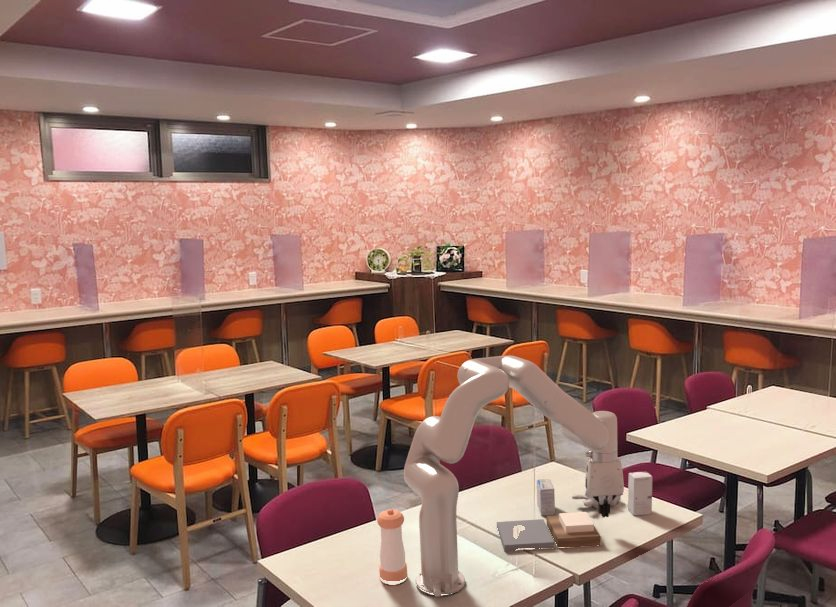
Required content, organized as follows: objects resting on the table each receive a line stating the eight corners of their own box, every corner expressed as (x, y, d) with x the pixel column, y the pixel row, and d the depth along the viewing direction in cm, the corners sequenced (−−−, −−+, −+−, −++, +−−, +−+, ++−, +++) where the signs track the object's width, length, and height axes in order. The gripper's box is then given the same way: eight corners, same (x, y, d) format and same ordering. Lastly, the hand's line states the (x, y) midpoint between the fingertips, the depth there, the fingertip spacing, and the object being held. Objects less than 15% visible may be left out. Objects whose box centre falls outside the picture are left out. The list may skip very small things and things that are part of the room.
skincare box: (633, 516, 216) (633, 478, 215) (627, 509, 221) (627, 472, 219) (652, 514, 217) (653, 476, 215) (646, 507, 222) (646, 470, 220)
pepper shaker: (392, 568, 193) (388, 501, 190) (413, 576, 188) (409, 507, 185) (374, 579, 187) (370, 511, 184) (395, 588, 182) (391, 518, 179)
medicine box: (555, 515, 219) (554, 489, 218) (540, 516, 219) (540, 489, 218) (551, 504, 227) (550, 478, 225) (536, 504, 227) (536, 479, 226)
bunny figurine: (627, 493, 223) (589, 498, 217) (625, 509, 224) (587, 514, 217) (607, 483, 232) (570, 487, 225) (605, 498, 232) (568, 503, 226)
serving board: (600, 545, 200) (600, 535, 199) (557, 548, 199) (557, 538, 199) (586, 522, 213) (586, 513, 213) (546, 525, 213) (546, 515, 212)
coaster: (593, 531, 202) (593, 524, 202) (565, 532, 202) (565, 526, 201) (585, 518, 210) (585, 511, 210) (559, 519, 210) (558, 513, 209)
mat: (554, 548, 199) (554, 542, 199) (504, 551, 199) (504, 545, 198) (543, 525, 213) (543, 519, 213) (496, 528, 212) (496, 522, 212)
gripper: (581, 461, 199) (582, 523, 202) (634, 458, 199) (634, 519, 202) (574, 451, 206) (575, 511, 209) (625, 448, 207) (625, 507, 210)
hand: (604, 515), depth 206 cm, fingers closed
